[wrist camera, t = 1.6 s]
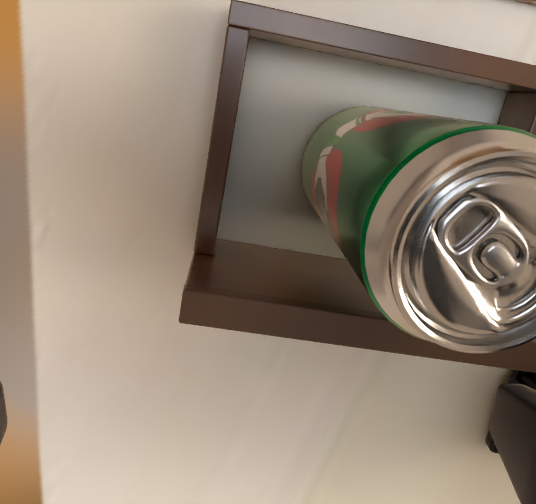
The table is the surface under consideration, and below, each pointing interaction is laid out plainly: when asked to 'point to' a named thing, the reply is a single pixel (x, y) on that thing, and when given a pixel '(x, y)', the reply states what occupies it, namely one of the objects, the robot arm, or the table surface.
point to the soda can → (433, 221)
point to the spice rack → (309, 265)
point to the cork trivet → (529, 1)
